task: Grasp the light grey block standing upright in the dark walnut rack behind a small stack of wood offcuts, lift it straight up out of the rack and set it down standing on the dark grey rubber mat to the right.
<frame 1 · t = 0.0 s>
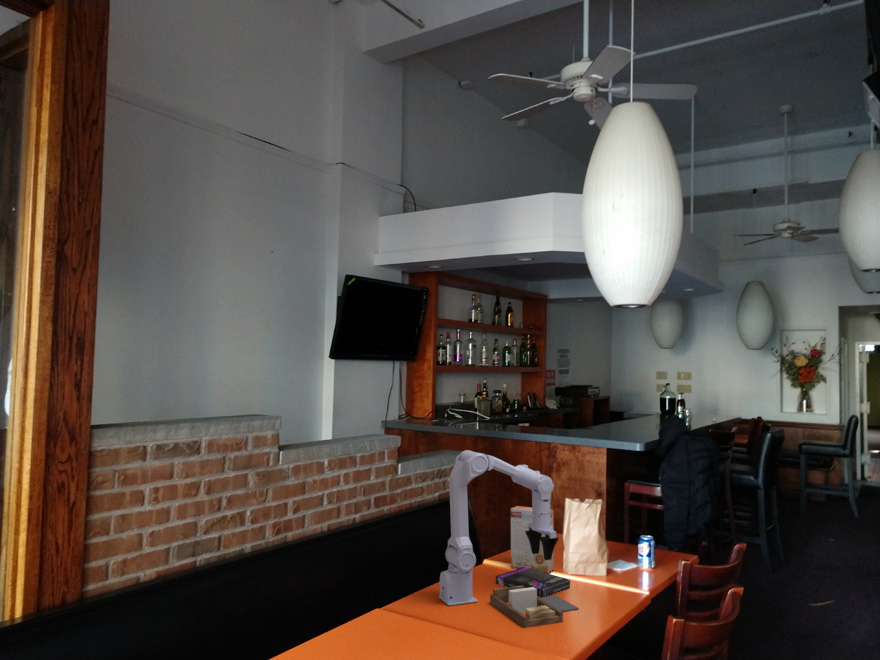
hand: (541, 556, 212), 10 cm above the table, tool pointing down, fingers open, 7 cm apart
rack: (523, 611, 191), on the table
mat: (554, 604, 197), on the table
cracker box: (532, 570, 233), on the table
light grey block: (522, 611, 192), resting in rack
offcuts: (539, 621, 183), resting in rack
box: (532, 588, 214), on the table
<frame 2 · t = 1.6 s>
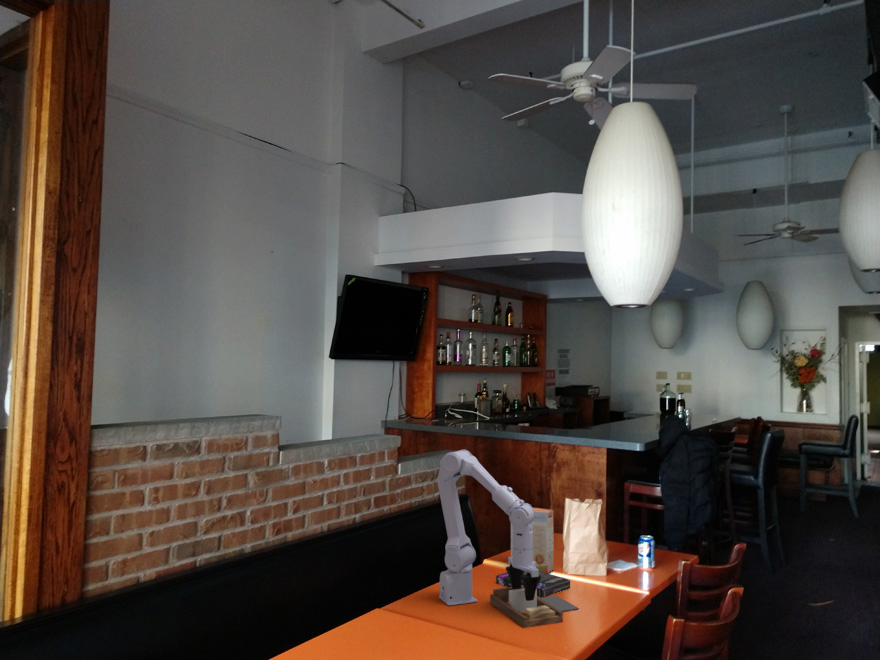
hand: (523, 596, 192), 4 cm above the table, tool pointing down, fingers open, 7 cm apart
nothing on the table moved.
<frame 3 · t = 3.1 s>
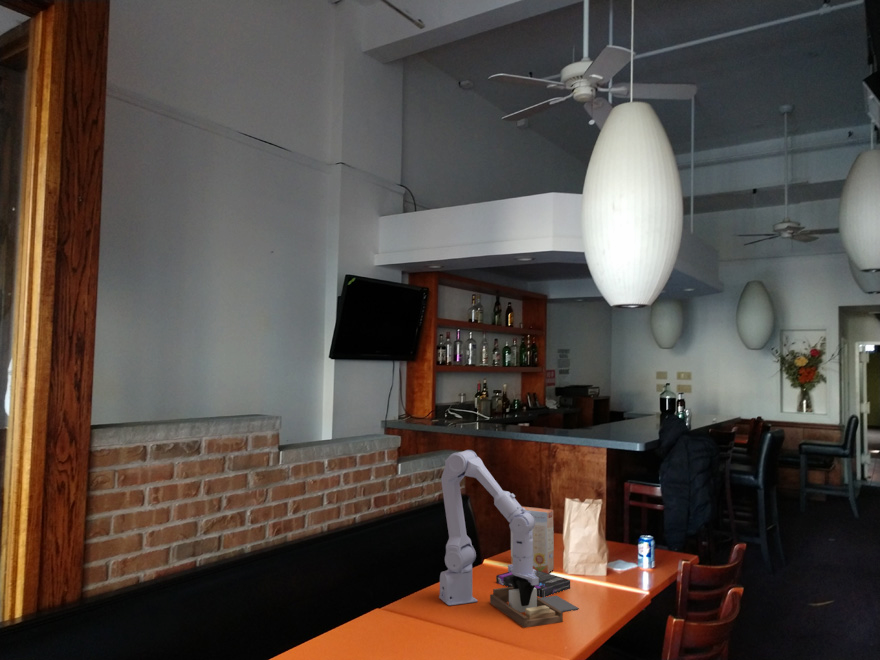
hand: (522, 603, 192), 2 cm above the table, tool pointing down, fingers closed on light grey block, 2 cm apart
light grey block: (522, 610, 192), resting in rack, touching gripper
everything else where it was.
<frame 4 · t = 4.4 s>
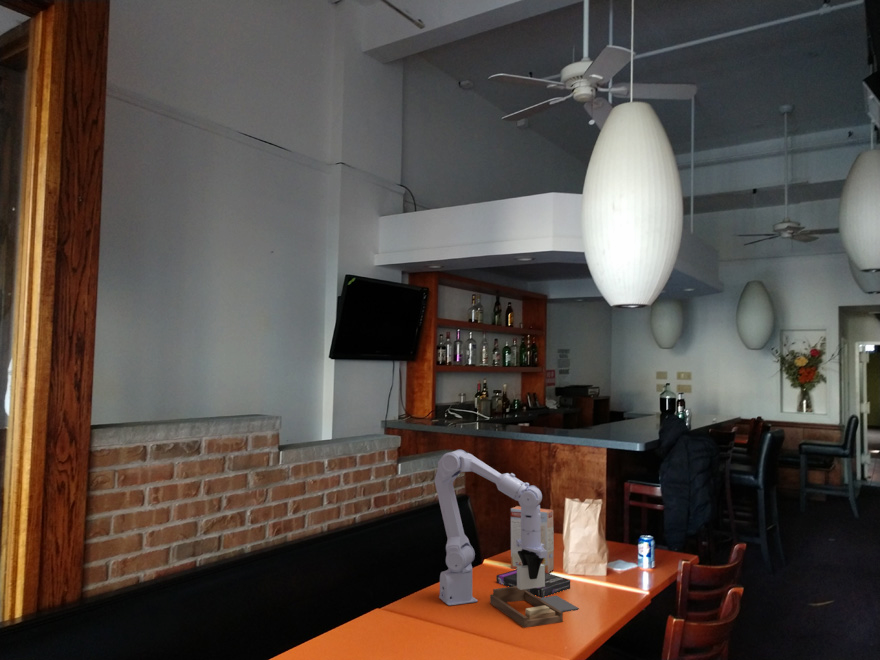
hand: (531, 577, 193), 9 cm above the table, tool pointing down, fingers closed on light grey block
light grey block: (531, 587, 193), point 6 cm above the table, touching gripper
everything else where it was.
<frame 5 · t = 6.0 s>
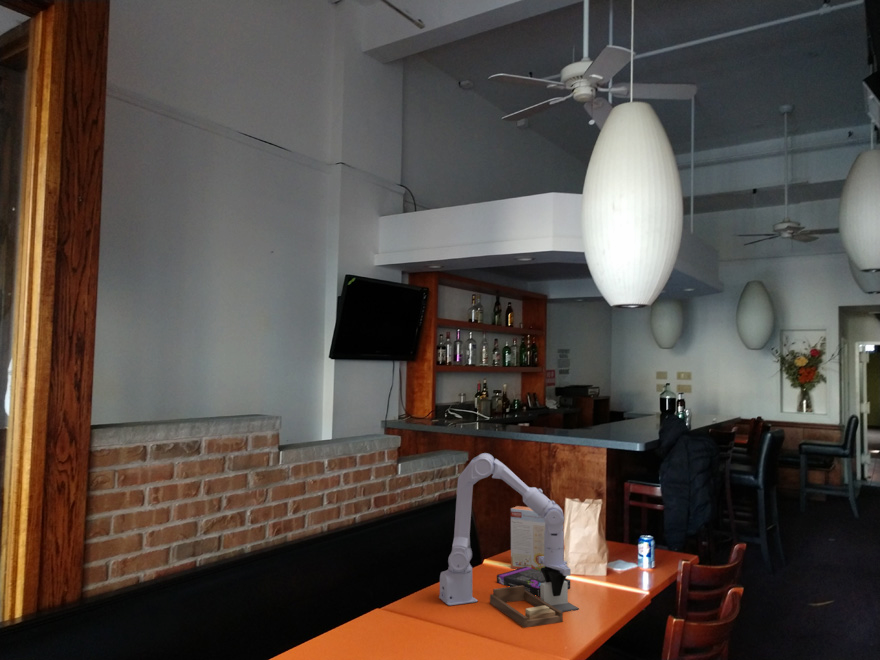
hand: (554, 594, 197), 3 cm above the table, tool pointing down, fingers closed on light grey block, 2 cm apart
light grey block: (554, 603, 197), resting on mat, touching gripper
everything else where it was.
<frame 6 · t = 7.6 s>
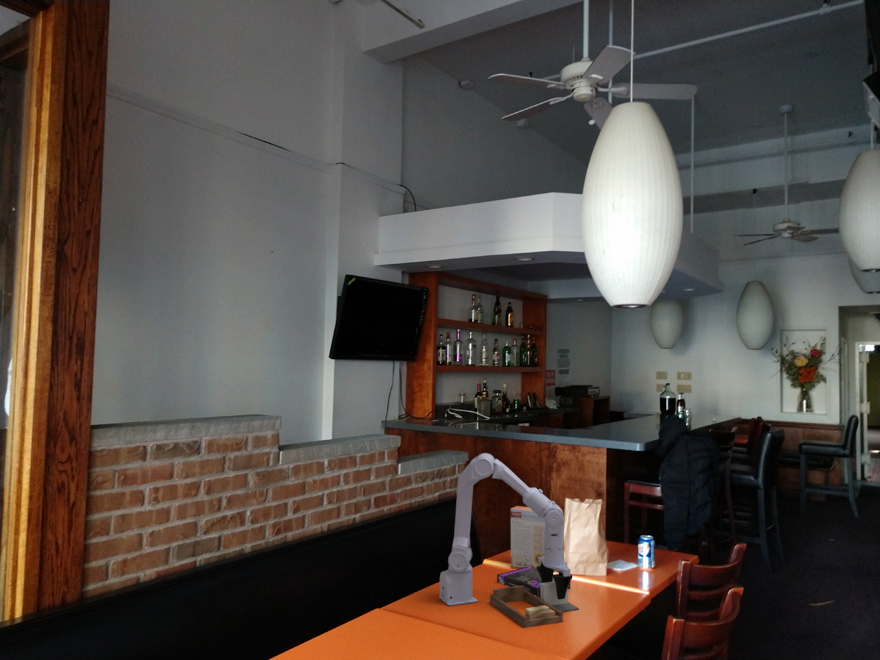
hand: (554, 594, 197), 3 cm above the table, tool pointing down, fingers open, 7 cm apart
light grey block: (554, 603, 197), resting on mat
everything else where it was.
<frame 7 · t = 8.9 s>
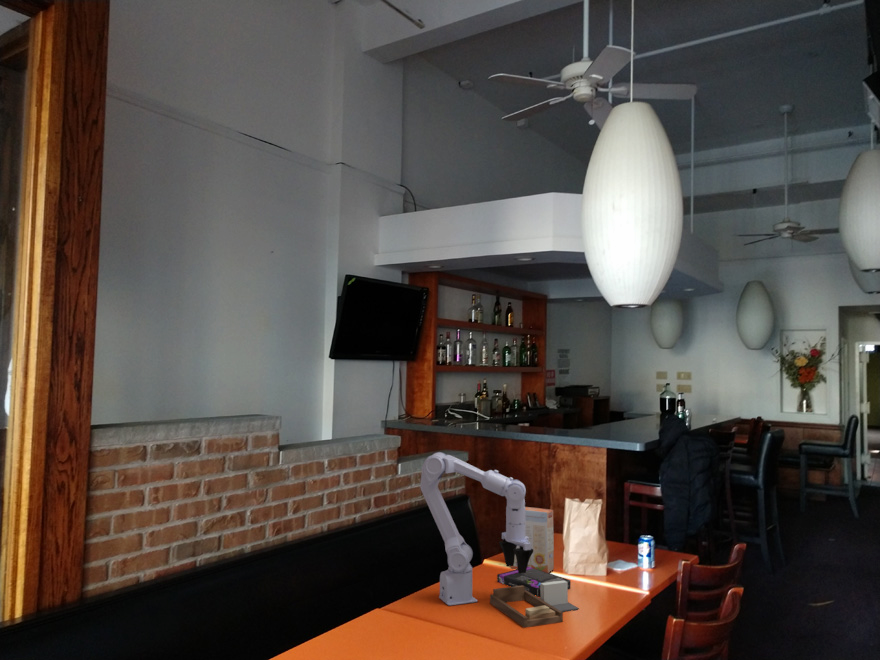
hand: (515, 569, 198), 10 cm above the table, tool pointing down, fingers open, 7 cm apart
nothing on the table moved.
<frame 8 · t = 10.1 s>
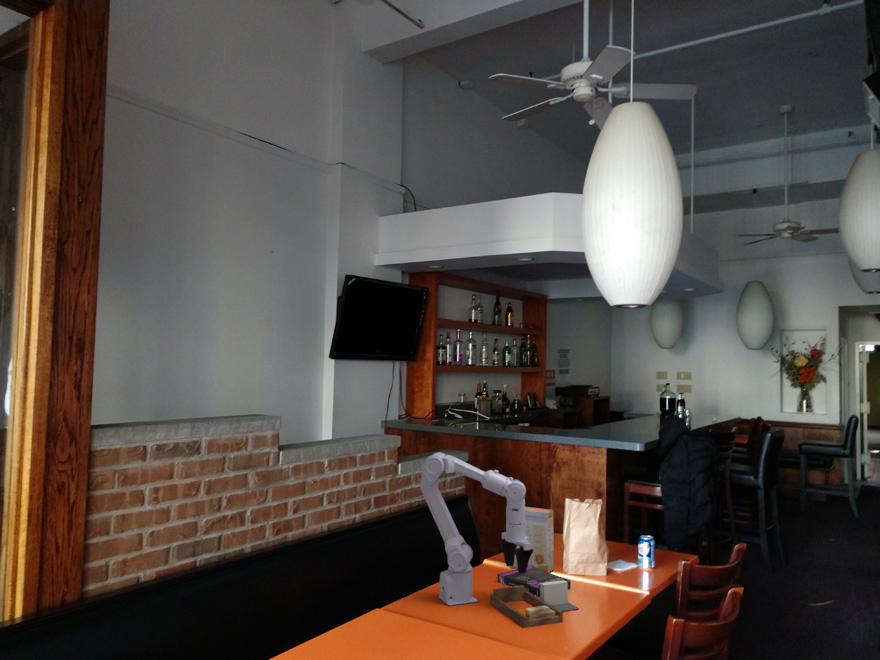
hand: (515, 569, 198), 10 cm above the table, tool pointing down, fingers open, 7 cm apart
nothing on the table moved.
at the end: light grey block inside the target area (0.1 cm from its centre), resting on mat; light grey block tilted 0°; the gripper is holding nothing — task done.
